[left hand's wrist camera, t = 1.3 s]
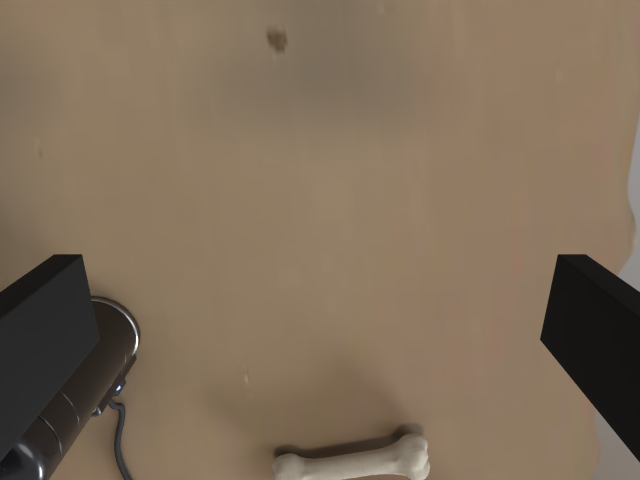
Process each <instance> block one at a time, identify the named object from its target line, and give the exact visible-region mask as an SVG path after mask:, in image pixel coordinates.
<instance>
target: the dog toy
mask: <svg viewBox="0 0 640 480" xmlns="http://www.w3.org/2000/svg"><path fill="white" fill-rule="evenodd" d="M427 459H428V453H427V441H426V439H425V437H424V435H423V434H421V433H411V434H406V435H404V436H402V437H401V438H400V439H399V440H398V441H397V442H395V443H393V444H392V445H390V446H387V447H383V448H379V449H375V450H369V451H363V452H357V453H351V454H344V455H338V456H332V457H326V458H316V459H309V458H304V457H300V456H298V455H296V454H293V453H288V454H284V455H281V456H278V457H277V458H276V459H275V460H274V462H273V464H272V470H273V473H274V480H343V479H349V478H356V477H362V476H369V475H376V474H396V475H405V476H407V477H408V478H410V479H411V480H424V479H425V478H426V477H427V475H428V473H429V468H430V464H429V461H428V460H427Z"/></svg>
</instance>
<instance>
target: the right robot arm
mask: <svg viewBox="0 0 640 480" xmlns="http://www.w3.org/2000/svg"><path fill="white" fill-rule="evenodd" d="M91 300H92V304H93V309H94V314H95V319H96V323H97V328H98V333H99V338H100V340H99V341H98V343H97V344H96V345H95V346H94V348H93V349H92V350H91V351H90V352H89V354H88V355H87V356H86V357H85V359H84V360H83V361H82V362H81V364H80V365H79V366H78V367H77V368H76V370H75V371H74V372H73V373H72V375H71V376H70V377H69V378H68V380H67V381H66V382H65V383H64V384H63V386H62V387H61V388H60V389H59V391H58V392H57V393H56V394H55V396H54V397H53V398H52V399H51V400H50V402H49V403H48V404H47V405H46V407H45V408H44V409H43V410H42V412H41V413H40V414H39V415H38V416H37V418H36V419H35V420H34V421H33V423H32V424H31V425H30V426H29V428H28V429H27V430H26V431H25V432H24V434H23V435H22V436H21V437H20V439H19V440H18V441H17V442H16V444H15V445H14V446H13V447H12V448H11V450H10V451H9V452H8V453H7V455H6V456H5V457H4V458H3V460H2V461H1V462H0V480H49V479H50V478H51V476H52V475H53V473H54V472H55V470H56V468H57V467H58V465H59V464H60V462H61V461H62V459H63V458H64V456H65V455H66V453H67V452H68V450H69V449H70V447H71V446H72V444H73V443H74V441H75V440H76V438H77V437H78V435H79V434H80V432H81V431H82V429H83V428H84V426H85V425H86V423H87V422H88V420H89V419H90V417H95V416H99V415H100V414H101V413H102V412H103V411H104V409H105V408H106V406H107V404H108V405H109V406H110V407H111V408H112V409H118V410H119V421H118V426H117V430H116V435H115V442H114V451H115V457H116V461H117V464H118V467H119V470H120V472H121V474H122V476H123V478H124V480H131V478H130V476H129V475H128V473H127V470H126V468H125V466H124V463H123V460H122V456H121V452H120V439H121V433H122V429H123V425H124V420H125V408H124V405H123V404H122V403H115V402H114V401H113V399H112V397H113V396H118V395H119V393H120V392H121V390H122V389H123V387H124V385H125V384H126V381H125V376H126V375H127V373H128V372H129V370H130V369H131V367H132V365H133V364H134V362H135V361H136V356H135V352H136V350H137V348H138V345H139V341H140V332H139V328H138V325H137V323H136V321H135V319H134V318H133V316H132V315H131V314H130V313H129V312H128V311H127V310H126V309H125V308H124V307H122V306H121V305H119V304H118V303H116V302H114V301H111V300H109V299H105V298H100V297H91Z"/></svg>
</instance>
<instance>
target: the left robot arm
mask: <svg viewBox="0 0 640 480" xmlns="http://www.w3.org/2000/svg"><path fill="white" fill-rule="evenodd" d="M99 340H100V338H99V333H98V328H97V323H96V319H95V314H94V309H93V304H92V300H91V295H90V290H89V285H88V281H87V276H86V271H85V266H84V262H83V257H82V254H54V255H53V256H51V257H50V258H48V259H47V260H46V261H44V262H43V263H41V264H40V265H38V266H37V267H36V268H34V269H33V270H31V271H30V272H28V273H27V274H26V275H24V276H23V277H21V278H20V279H18V280H17V281H16V282H14V283H13V284H11V285H10V286H8V287H7V288H6V289H4V290H3V291H1V292H0V462H1V461H2V460H3V458H4V457H5V456H6V455H7V453H8V452H9V451H10V450H11V448H12V447H13V446H14V445H15V444H16V442H17V441H18V440H19V439H20V437H21V436H22V435H23V434H24V432H25V431H26V430H27V429H28V428H29V426H30V425H31V424H32V423H33V421H34V420H35V419H36V418H37V416H38V415H39V414H40V413H41V412H42V410H43V409H44V408H45V407H46V405H47V404H48V403H49V402H50V400H51V399H52V398H53V397H54V396H55V394H56V393H57V392H58V391H59V389H60V388H61V387H62V386H63V384H64V383H65V382H66V381H67V380H68V378H69V377H70V376H71V375H72V373H73V372H74V371H75V370H76V368H77V367H78V366H79V365H80V364H81V362H82V361H83V360H84V359H85V357H86V356H87V355H88V354H89V352H90V351H91V350H92V349H93V348H94V346H95V345H96V344H97V343H98V341H99ZM540 340H541V341H542V343H543V344H544V345H545V346H546V348H547V349H548V350H549V351H550V352H551V354H552V355H553V356H554V357H555V359H556V360H557V361H558V362H559V364H560V365H561V366H562V367H563V368H564V370H565V371H566V372H567V373H568V375H569V376H570V377H571V378H572V380H573V381H574V382H575V383H576V384H577V386H578V387H579V388H580V389H581V391H582V392H583V393H584V394H585V396H586V397H587V398H588V399H589V400H590V402H591V403H592V404H593V405H594V407H595V408H596V409H597V410H598V412H599V413H600V414H601V415H602V416H603V418H604V419H605V420H606V421H607V423H608V424H609V425H610V426H611V428H612V429H613V430H614V431H615V432H616V434H617V435H618V436H619V437H620V439H621V440H622V441H623V442H624V444H625V445H626V446H627V447H628V448H629V450H630V451H631V452H632V453H633V455H634V456H635V457H636V458H637V460H638V461H639V462H640V292H639V291H637V290H636V289H634V288H633V287H632V286H630V285H629V284H627V283H626V282H624V281H623V280H622V279H620V278H619V277H617V276H616V275H614V274H613V273H612V272H610V271H609V270H607V269H606V268H604V267H603V266H602V265H600V264H599V263H597V262H596V261H594V260H593V259H592V258H590V257H589V256H587V255H586V254H558V257H557V262H556V266H555V271H554V276H553V281H552V285H551V290H550V295H549V300H548V304H547V309H546V314H545V319H544V323H543V328H542V333H541V338H540Z"/></svg>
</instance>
